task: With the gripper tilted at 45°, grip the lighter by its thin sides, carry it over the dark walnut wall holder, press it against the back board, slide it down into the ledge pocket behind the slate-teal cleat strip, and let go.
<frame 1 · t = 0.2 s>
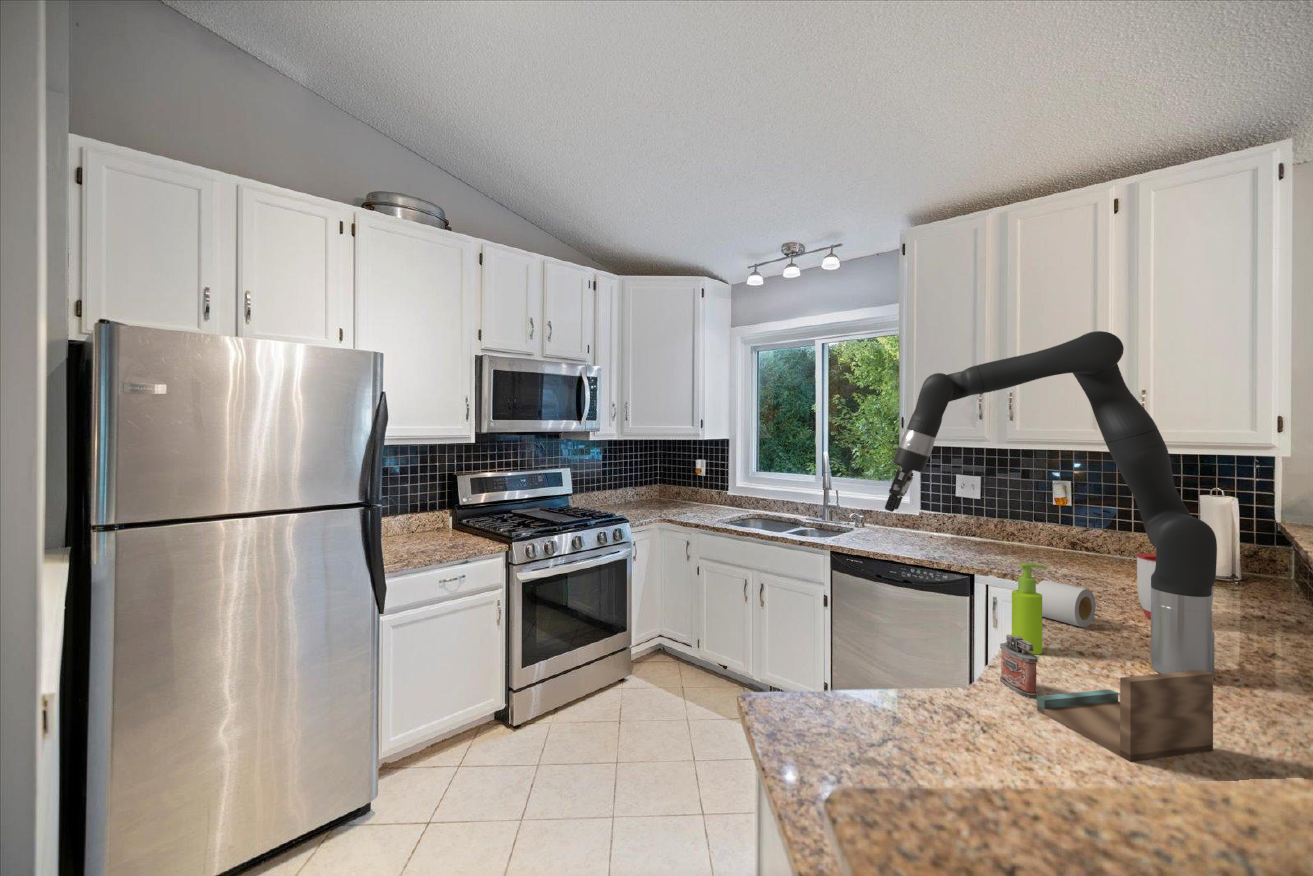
hand: (891, 509, 141), 31 cm above the counter, tool tilted 20°, fingers open, 8 cm apart
soap dispenser: (1029, 650, 127), on the counter
toilet paper: (1063, 622, 148), on the counter
lighter: (1018, 690, 107), on the counter
wall holder: (1119, 729, 92), on the counter
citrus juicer: (1175, 622, 148), on the counter
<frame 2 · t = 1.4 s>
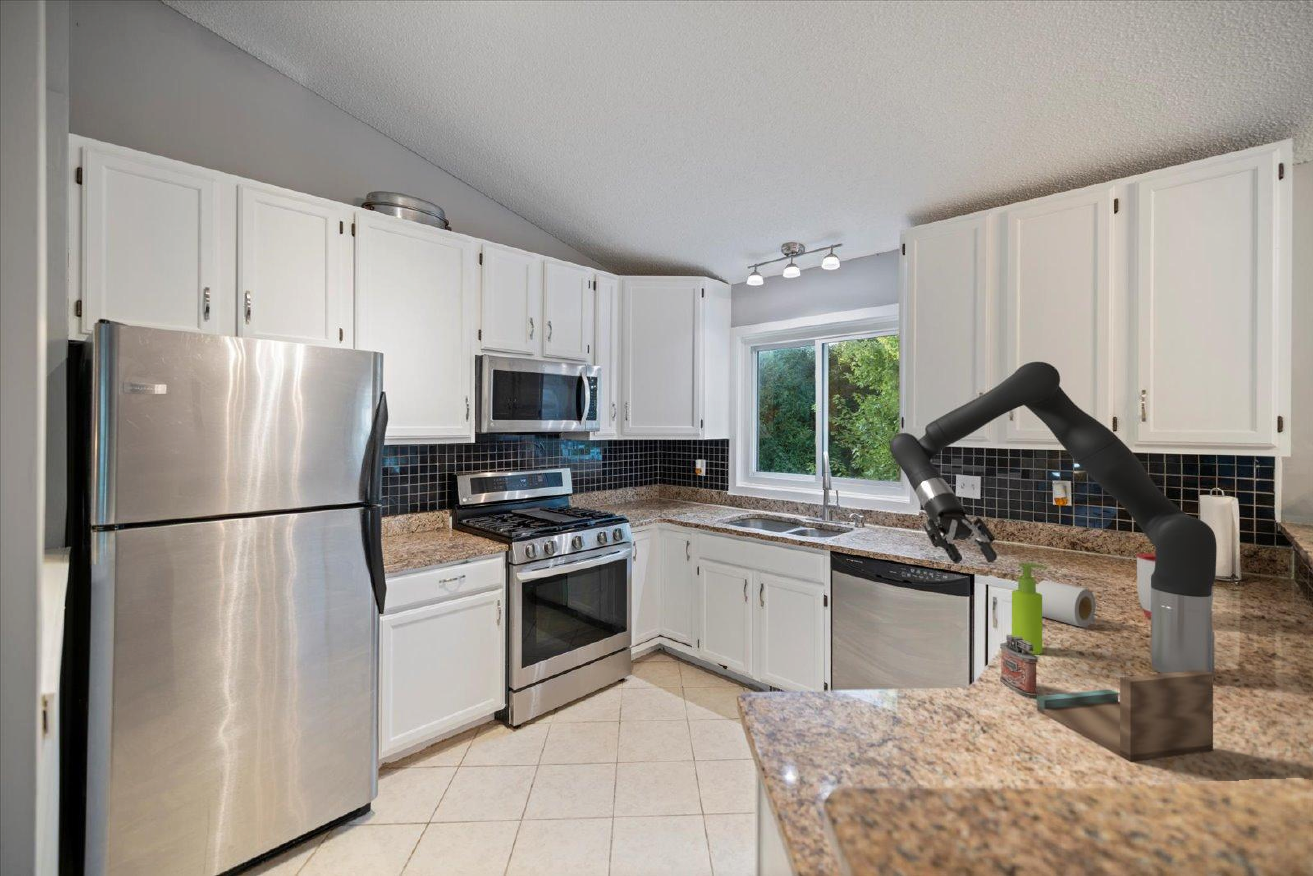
hand: (976, 561, 117), 23 cm above the counter, tool tilted 45°, fingers open, 8 cm apart
nothing on the counter moved.
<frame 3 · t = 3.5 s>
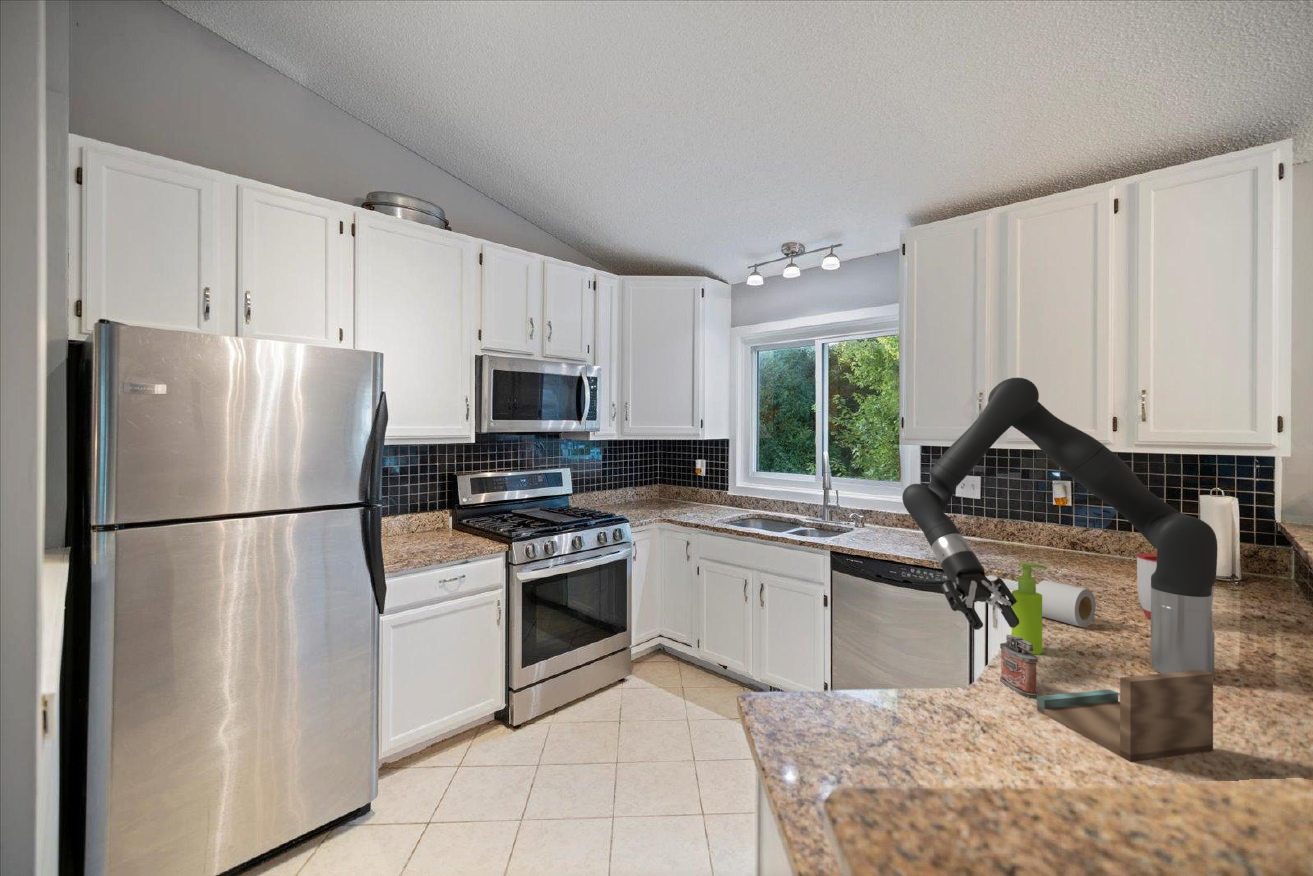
hand: (997, 627, 112), 10 cm above the counter, tool tilted 45°, fingers open, 8 cm apart
nothing on the counter moved.
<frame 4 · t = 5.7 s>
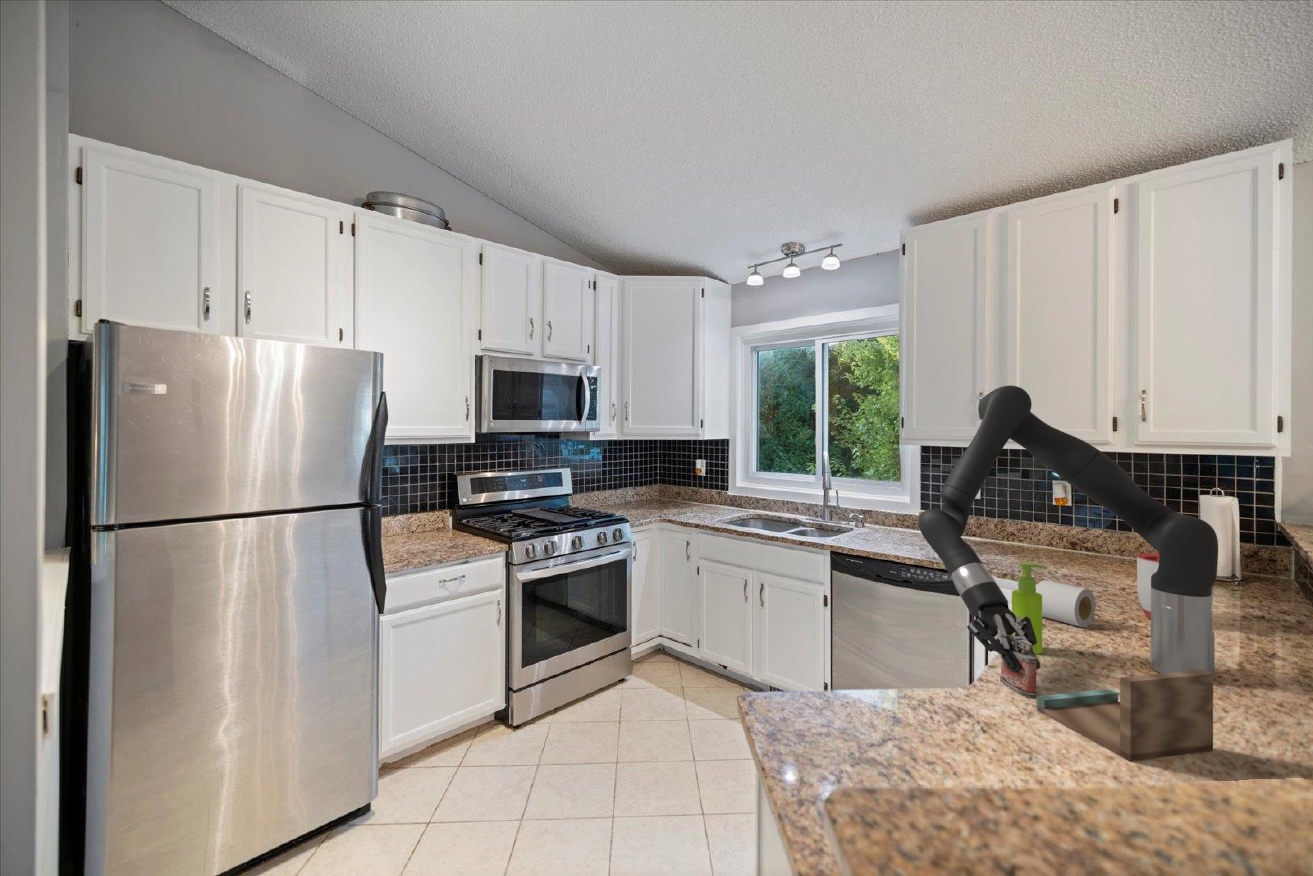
hand: (1027, 669, 105), 5 cm above the counter, tool tilted 45°, fingers closed on lighter, 3 cm apart
lighter: (1018, 690, 107), on the counter, touching gripper
everything else where it was.
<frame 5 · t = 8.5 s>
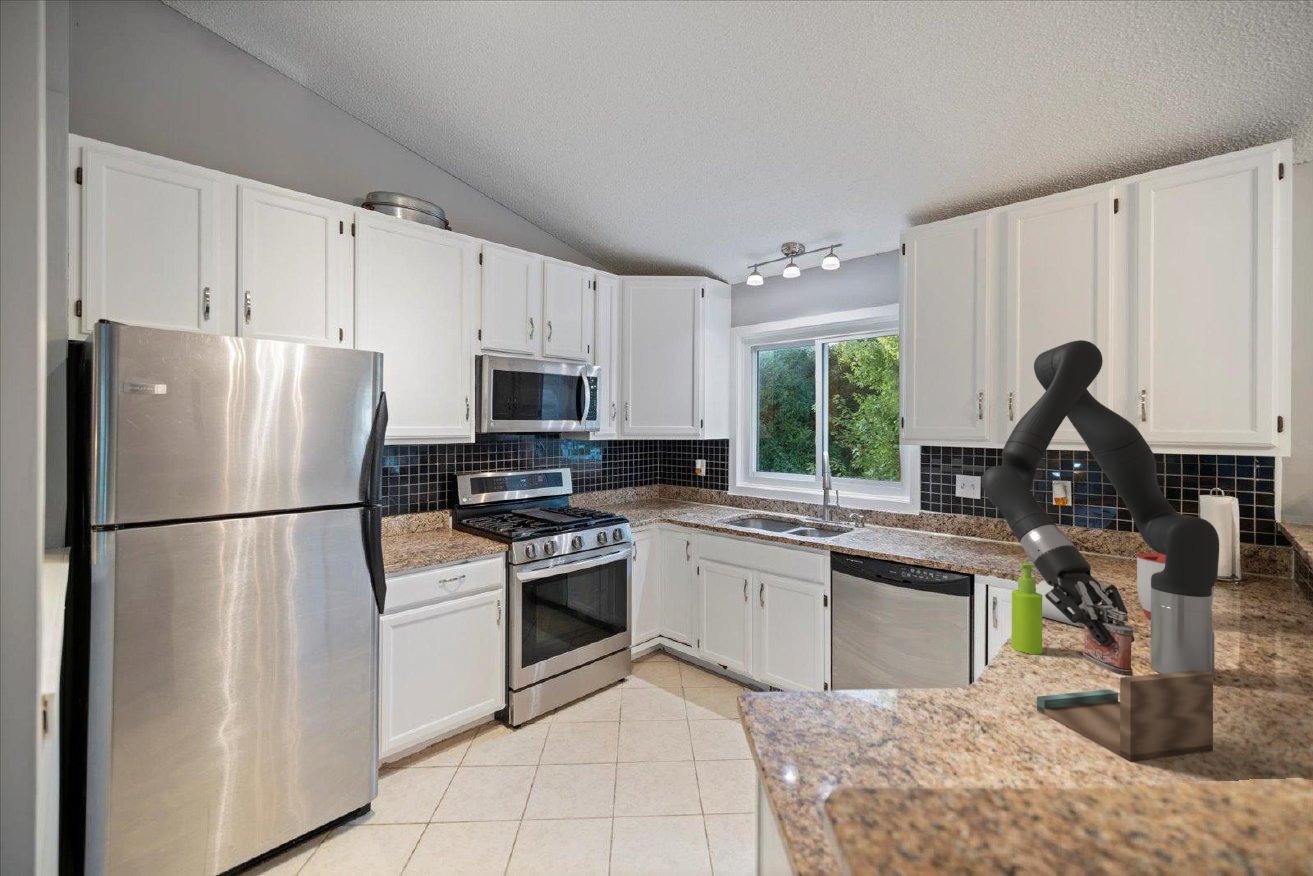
hand: (1119, 643, 91), 15 cm above the counter, tool tilted 45°, fingers closed on lighter, 3 cm apart
lighter: (1106, 666, 93), point 10 cm above the counter, touching gripper
everything else where it was.
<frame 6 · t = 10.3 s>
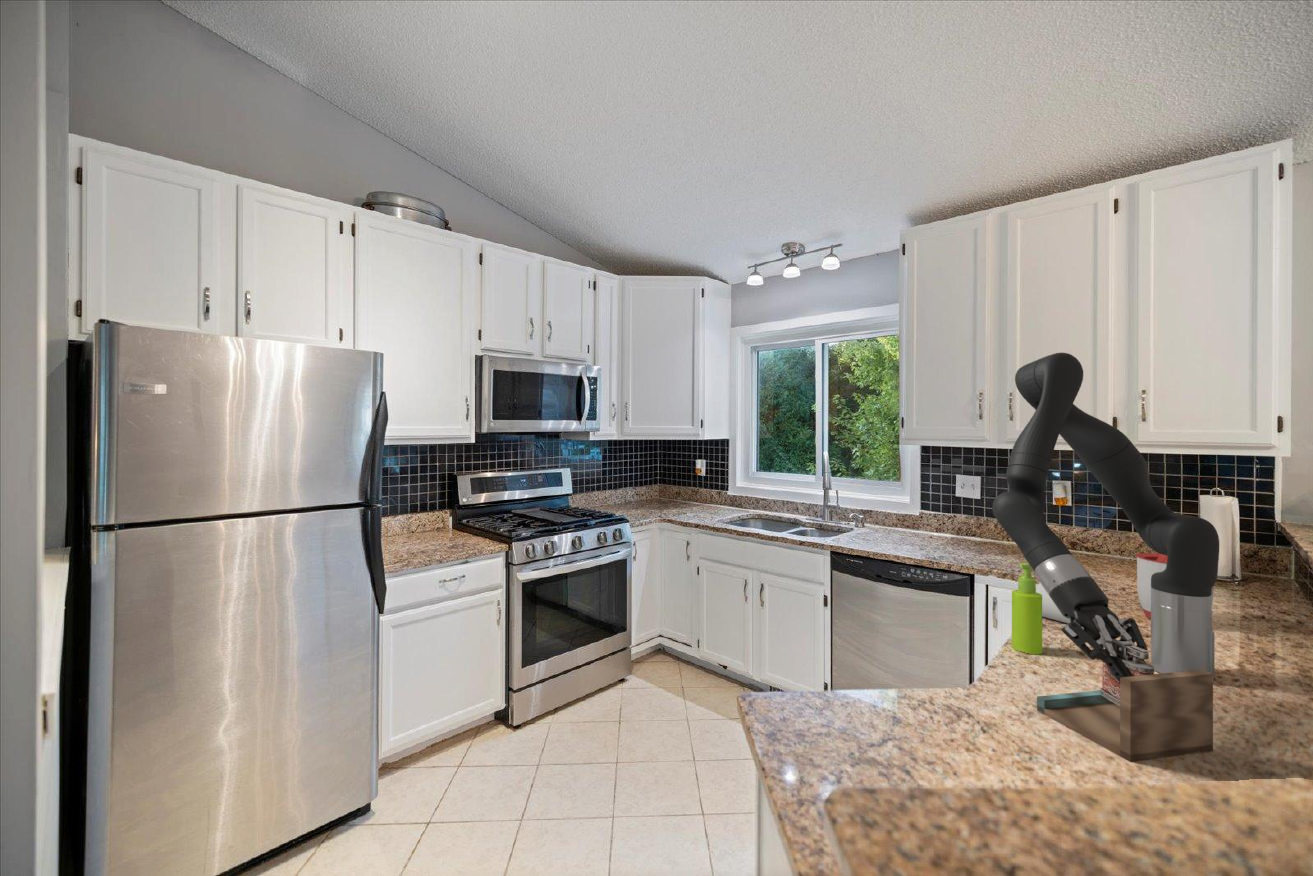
hand: (1139, 681, 88), 10 cm above the counter, tool tilted 45°, fingers closed on lighter, 3 cm apart
lighter: (1126, 705, 90), point 5 cm above the counter, touching gripper
everything else where it was.
when the fingers open (7 cm above the counter, at t = 11.2 s): lighter drops 1 cm, resting on wall holder.
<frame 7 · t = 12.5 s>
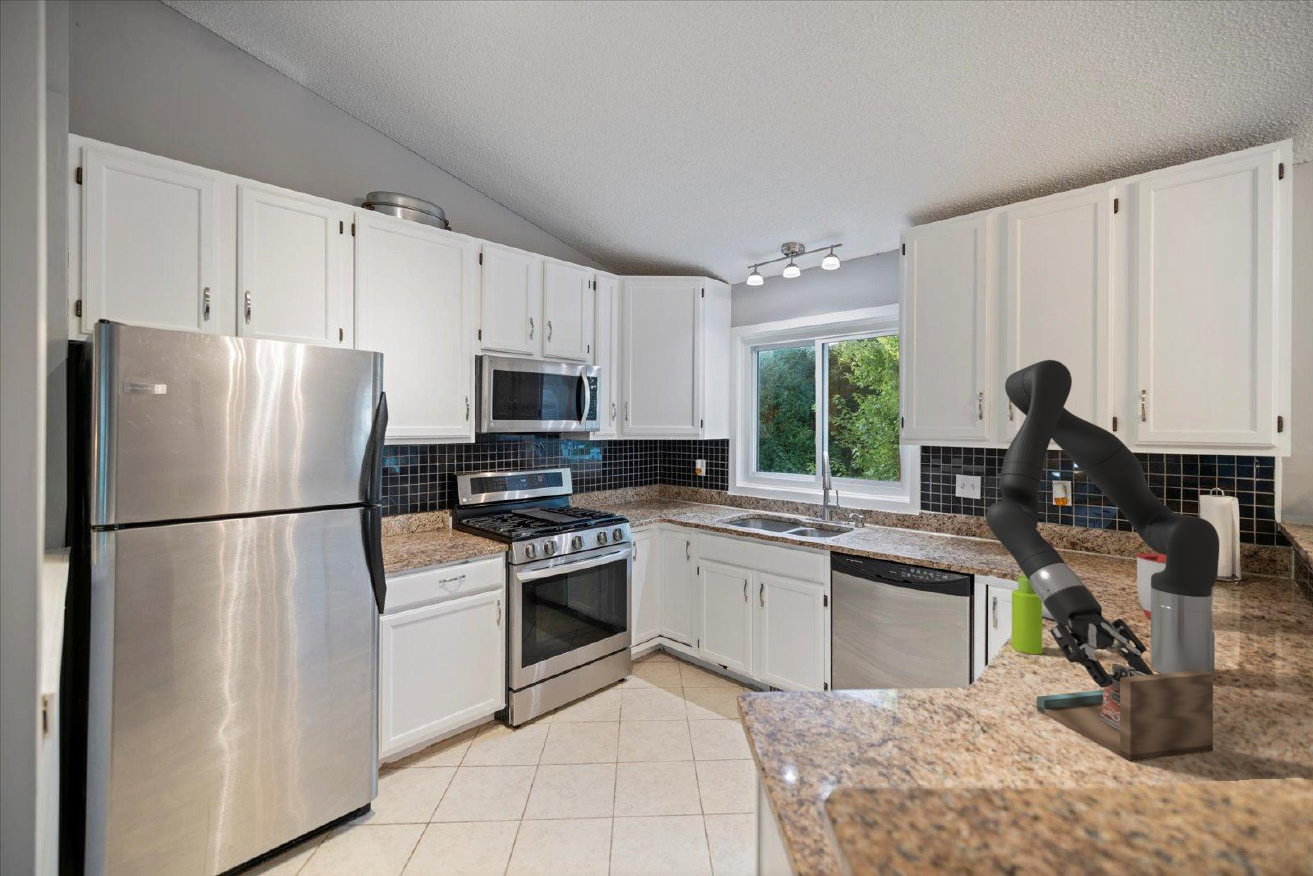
hand: (1128, 683, 90), 9 cm above the counter, tool tilted 45°, fingers open, 8 cm apart
lighter: (1126, 730, 90), point 1 cm above the counter, touching wall holder
everything else where it was.
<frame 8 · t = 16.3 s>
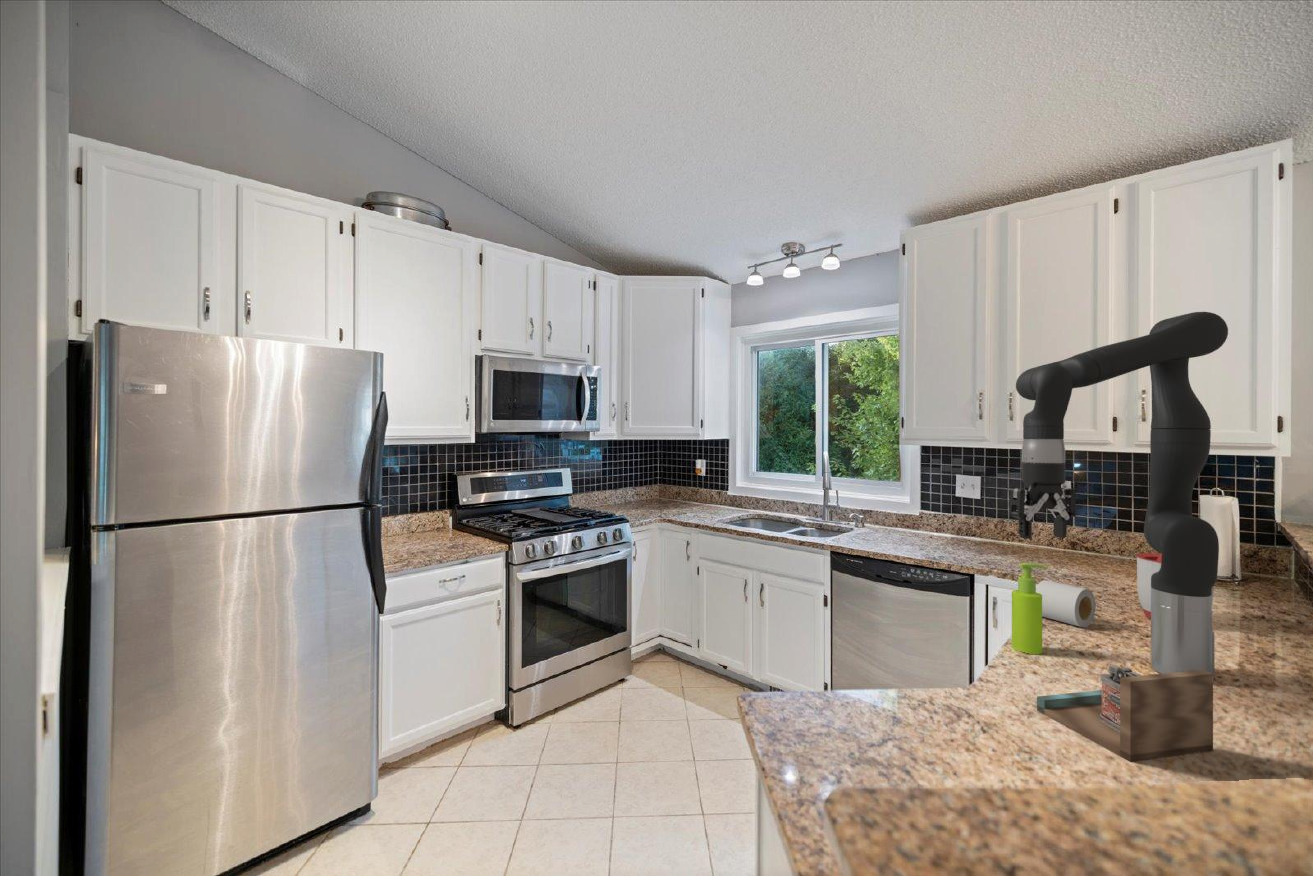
hand: (1042, 537, 115), 28 cm above the counter, tool pointing down, fingers open, 8 cm apart
nothing on the counter moved.
at the end: lighter inside the target area on the wall holder (2.2 cm from its centre), point 0.8 cm above the wall holder's base; lighter tilted 0°; the gripper is holding nothing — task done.
